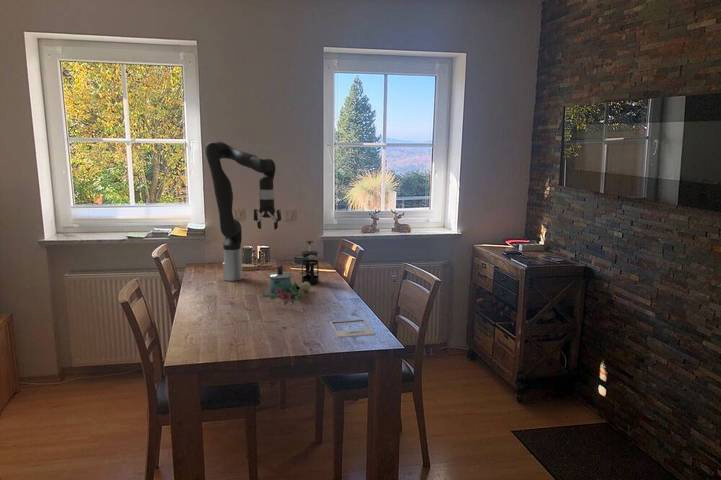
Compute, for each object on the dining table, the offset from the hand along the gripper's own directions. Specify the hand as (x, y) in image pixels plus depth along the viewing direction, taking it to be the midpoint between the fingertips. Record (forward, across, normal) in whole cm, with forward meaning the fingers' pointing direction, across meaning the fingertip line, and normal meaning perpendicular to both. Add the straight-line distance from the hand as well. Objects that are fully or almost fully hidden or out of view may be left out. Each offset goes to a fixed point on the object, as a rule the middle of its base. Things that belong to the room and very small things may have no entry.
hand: (267, 229), depth 284 cm
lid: (+21, +11, -14) cm, 28 cm away
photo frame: (+31, +57, -59) cm, 87 cm away
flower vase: (+30, +22, -25) cm, 45 cm away
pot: (+30, +11, -14) cm, 35 cm away
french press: (+30, +20, +8) cm, 37 cm away
